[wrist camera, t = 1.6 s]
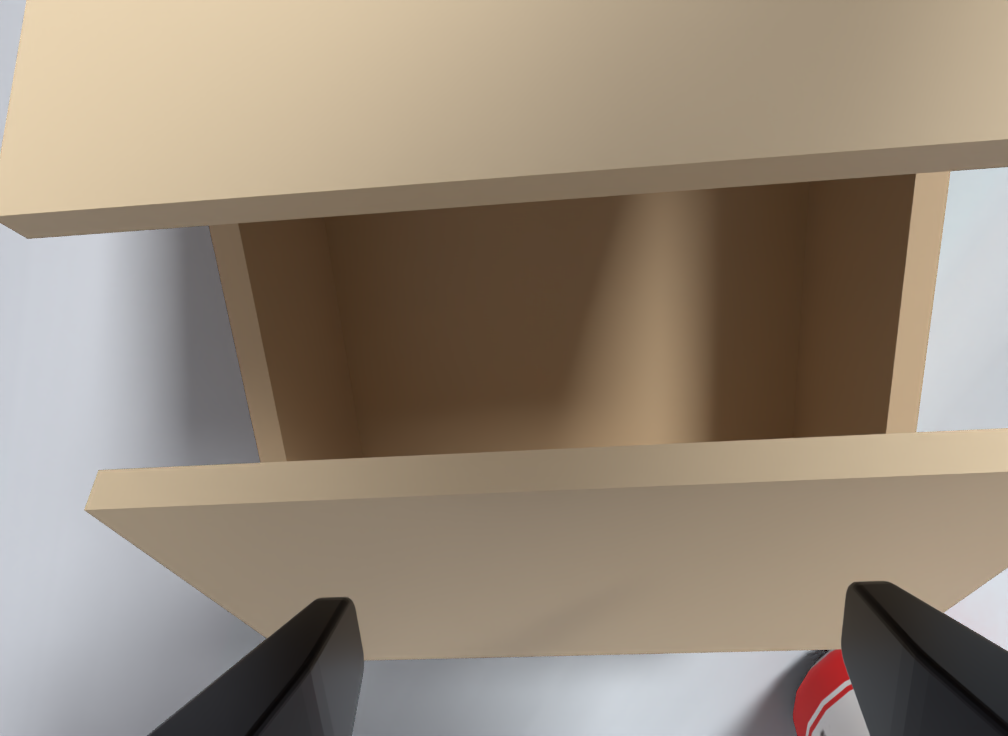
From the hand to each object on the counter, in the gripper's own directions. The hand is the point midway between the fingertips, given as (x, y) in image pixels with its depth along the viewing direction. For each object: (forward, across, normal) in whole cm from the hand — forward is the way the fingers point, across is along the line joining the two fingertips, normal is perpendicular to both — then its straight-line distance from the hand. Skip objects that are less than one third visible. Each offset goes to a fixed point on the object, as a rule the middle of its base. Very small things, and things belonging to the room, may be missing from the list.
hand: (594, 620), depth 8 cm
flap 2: (+4, 0, +2) cm, 5 cm away
